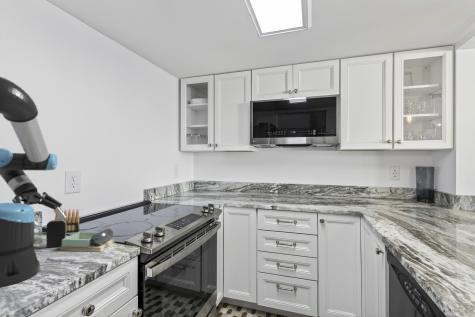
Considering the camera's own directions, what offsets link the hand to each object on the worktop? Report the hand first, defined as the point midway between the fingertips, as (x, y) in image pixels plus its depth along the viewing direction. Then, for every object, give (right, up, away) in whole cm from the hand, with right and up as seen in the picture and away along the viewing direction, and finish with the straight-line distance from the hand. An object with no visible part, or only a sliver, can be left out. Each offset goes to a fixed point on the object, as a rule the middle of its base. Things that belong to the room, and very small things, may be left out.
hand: (50, 223), depth 107 cm
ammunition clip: (-5, -10, +17) cm, 20 cm away
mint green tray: (+18, -10, -1) cm, 20 cm away
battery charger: (+4, -10, -2) cm, 11 cm away
